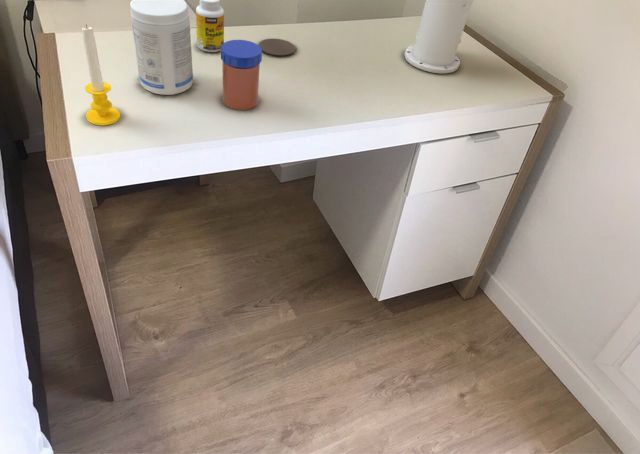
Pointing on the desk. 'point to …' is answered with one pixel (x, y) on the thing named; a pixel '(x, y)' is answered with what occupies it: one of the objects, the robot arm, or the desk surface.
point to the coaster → (277, 47)
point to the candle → (97, 85)
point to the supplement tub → (162, 45)
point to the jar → (240, 87)
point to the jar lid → (241, 53)
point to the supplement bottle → (210, 25)
